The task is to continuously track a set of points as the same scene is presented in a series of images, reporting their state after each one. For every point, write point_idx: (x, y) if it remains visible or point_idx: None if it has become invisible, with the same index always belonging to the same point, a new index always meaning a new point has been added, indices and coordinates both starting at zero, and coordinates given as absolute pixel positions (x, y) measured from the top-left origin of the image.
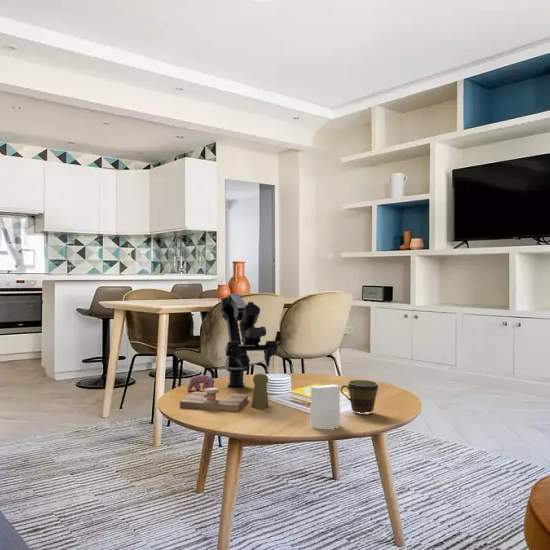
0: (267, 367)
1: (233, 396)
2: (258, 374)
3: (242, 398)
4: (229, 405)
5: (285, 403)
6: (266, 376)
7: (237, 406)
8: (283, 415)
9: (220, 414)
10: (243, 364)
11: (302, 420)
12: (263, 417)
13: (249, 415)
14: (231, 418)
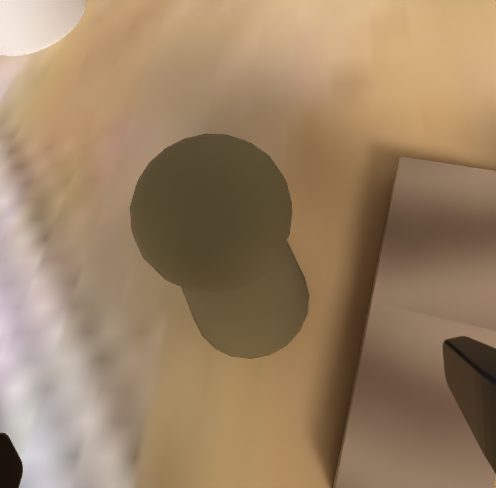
0: (21, 461)
1: (467, 426)
2: (225, 181)
3: (379, 347)
4: (458, 168)
5: (61, 382)
6: (146, 167)
7: (401, 160)
8: (150, 123)
9: (490, 117)
10: (467, 352)
11: (89, 61)
12: (254, 86)
13: (324, 111)
14: (416, 60)
